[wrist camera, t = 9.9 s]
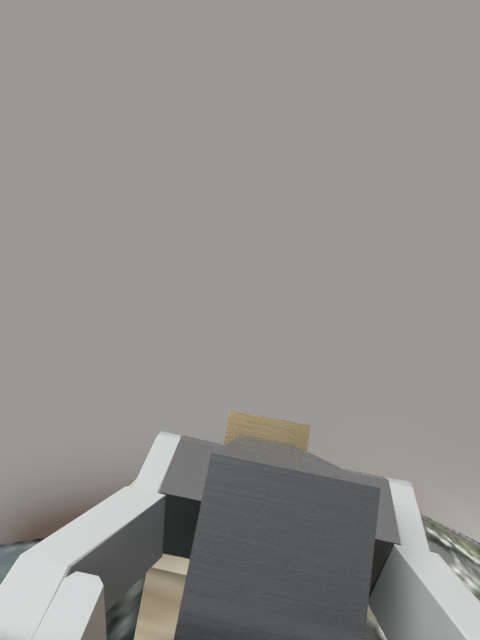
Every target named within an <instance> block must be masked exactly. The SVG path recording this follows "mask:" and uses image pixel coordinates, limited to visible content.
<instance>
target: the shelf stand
mask: <svg viewBox="0 0 480 640" xmlns="http://www.w3.org/2000/svg"><path fill="white" fill-rule="evenodd" d="M135 481H136V480H135ZM135 481H134V482H133V483H132V484H131V485H130V486H129V487H133V486H134V483H135ZM189 561H190V559H187V558H182V557H177V556H172V555H167V554H163V555H162V557H161V558H160V559H159V560H158V561H157V562H156V563H155V564H154V565H153V566H152V567H151V568H150V569H149V570H148V571H147V573H146V578H145V584H144V589H143V594H142V600H141V605H140V610H139V616H138V621H137V626H136V632H135V637H134V640H174V635H175V630H176V625H177V620H178V615H179V610H180V605H181V600H182V595H183V590H184V585H185V581H186V576H187V571H188V566H189ZM367 618H372V619H376V618H375V616H374V614H373V612H372V611H371V609H370V607H369V605H368V610H367Z"/></svg>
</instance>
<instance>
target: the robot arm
mask: <svg viewBox="0 0 480 640" xmlns="http://www.w3.org/2000/svg"><path fill="white" fill-rule="evenodd" d="M222 446H224V445H221V444H217V443H213V442H209V441H204V440H200V439H196V438H191V437H187V436H180V435H176V434H172V433H168V432H163V431H161V432H160V433H159V434H158V435H157V437H156V439H155V441H154V444H153V446H152V448H151V450H150V452H149V454H148V456H147V458H146V460H145V463H144V464H143V467H142V469H141V471H140V473H139V475H138V477H137V479H136V481H135V483H134V486H133V487H128V486H125V487H124V488H122V489H121V490H119V491H118V492H116V493H115V494H113V495H112V496H110V497H109V498H107V499H106V500H104V501H102V502H101V503H100V504H98V505H96V506H95V507H93V508H92V509H90V510H89V511H87V512H86V513H84V514H83V515H81V516H79V517H78V518H76V519H75V520H73V521H72V522H70V523H69V524H67V525H66V526H64V527H63V528H61V529H60V530H58V531H56V532H55V533H53V534H52V535H51V536H49V537H47V538H46V539H44V540H43V541H41V542H39V543H38V544H36V545H35V546H33V547H32V548H30V549H29V550H27V551H26V552H24V553H23V554H21V555H20V556H19V558H18V559H17V561H16V562H15V564H14V565H13V567H12V568H11V570H10V571H9V573H8V574H7V576H6V577H5V579H4V580H3V582H2V584H1V585H0V640H106V622H105V613H106V612H107V611H108V610H109V609H110V608H111V607H112V606H113V605H114V604H115V603H116V602H117V601H118V600H119V599H120V598H121V597H122V596H123V595H124V594H125V593H126V592H127V591H128V590H129V589H130V588H131V587H132V586H133V585H134V584H135V583H136V582H137V581H138V580H139V579H140V578H141V577H142V576H143V575H144V574H145V573H146V572H147V571H148V570H149V569H150V568H151V567H152V566H153V565H154V564H155V563H156V562H157V561H158V560H159V559H160V558H161V557H162V555H163V554H167V555H172V556H177V557H182V558H187V559H190V556H191V551H192V546H193V541H194V536H195V531H196V526H197V521H198V516H199V511H200V506H201V501H202V496H203V491H204V486H205V481H206V476H207V471H208V466H209V461H210V456H211V453H212V452H214V451H215V450H217V449H219V448H220V447H222ZM343 470H345V471H347V472H349V473H351V474H353V475H355V476H357V477H359V478H361V479H363V480H365V481H367V482H369V483H371V484H373V485H375V486H377V487H379V488H381V490H380V499H379V508H378V517H377V527H376V536H375V545H374V554H373V564H372V573H371V582H370V591H369V601H368V605H369V607H370V609H371V611H372V612H373V614H374V616H375V618H376V620H377V622H378V623H379V625H380V627H381V629H382V631H383V632H384V634H385V636H386V638H387V640H480V602H479V600H478V599H477V598H476V597H475V596H474V595H473V594H472V592H471V591H470V590H469V589H468V588H467V587H466V585H465V584H464V583H463V582H462V581H461V580H460V579H459V577H458V576H457V575H456V574H455V573H454V572H453V570H452V569H451V568H450V567H449V566H448V565H447V564H446V562H445V561H444V560H443V559H442V558H441V557H440V555H439V554H437V553H433V552H430V548H429V545H428V541H427V537H426V533H425V530H424V526H423V522H422V519H421V515H420V512H419V507H418V504H417V500H416V496H415V493H414V489H413V486H412V484H411V483H410V482H408V481H403V480H398V479H392V478H387V477H386V478H385V477H381V476H376V475H372V474H367V473H361V472H356V471H351V470H346V469H343Z"/></svg>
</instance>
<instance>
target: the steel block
mask: <svg viewBox="0 0 480 640" xmlns="http://www.w3.org/2000/svg"><path fill="white" fill-rule="evenodd" d="M309 431H310V426H309V425H304V424H299V423H294V422H289V421H284V420H279V419H274V418H268V417H264V416H258V415H253V414H248V413H243V412H238V411H233V410H230V415H229V420H228V425H227V430H226V435H225V440H224V446H222V447H220V448H219V449H217V450H215V451H214V452H212V453H211V456H210V461H209V466H208V471H207V476H206V481H205V486H204V491H203V496H202V501H201V506H200V511H199V516H198V521H197V526H196V531H195V536H194V541H193V546H192V551H191V556H190V561H189V566H188V571H187V576H186V581H185V585H184V590H183V595H182V600H181V605H180V610H179V615H178V620H177V625H176V630H175V635H174V640H364V638H365V628H366V619H367V610H368V601H369V591H370V582H371V573H372V564H373V554H374V545H375V536H376V527H377V517H378V508H379V499H380V490H381V488H379V487H377V486H375V485H373V484H371V483H369V482H367V481H365V480H363V479H361V478H359V477H357V476H355V475H353V474H351V473H349V472H347V471H345V470H343V469H341V468H339V467H337V466H335V465H333V464H331V463H329V462H327V461H325V460H323V459H321V458H319V457H317V456H315V455H312V454H311V453H308V452H307V445H308V438H309Z"/></svg>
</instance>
